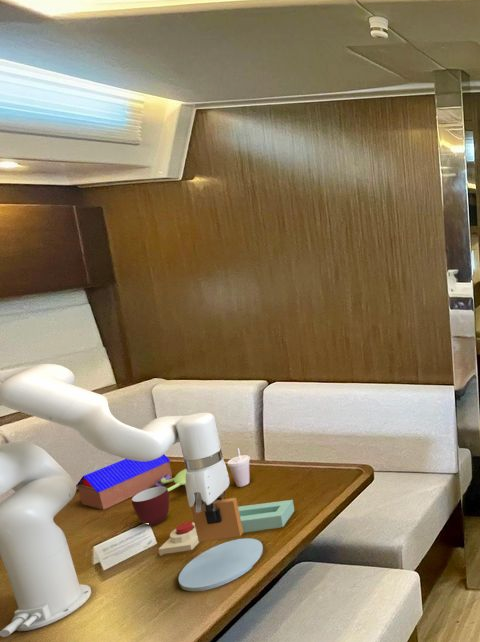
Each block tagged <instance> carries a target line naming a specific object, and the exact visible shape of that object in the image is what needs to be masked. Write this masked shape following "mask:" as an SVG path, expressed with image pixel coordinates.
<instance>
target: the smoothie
mask: <svg viewBox="0 0 480 642" xmlns="http://www.w3.org/2000/svg"><path fill="white" fill-rule="evenodd" d="M236 451H237V456H234V457H233V458H231V459H229V460H228V461H227V467H229V469H230V472H231V475H232V477H233V480H234V482H235V485H236V487H237V488H242V487H245V486H247V485H248V484H250V479H251V478H250V460H251V457H250V455H248V454H242V455H241V451H240V448H239V447H238V448H237V447H236Z"/></svg>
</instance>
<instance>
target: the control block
mask: <svg viewBox="0 0 480 642" xmlns="http://www.w3.org/2000/svg"><path fill="white" fill-rule="evenodd" d="M192 524H193V529H192V530H191V531H189V532H188V533H185V534H181V535H177V532H176V528H175V529H173V530H172V531H171V532H170V534H169V538H168V539H167V540H166V541H165V542H164V543H163V544H162V545H161V546H160V547H159V548H158V555H159V556H160V557H162V556H163V555H167V554H173V553H180V552H187V551H192V550H194V548H195V547H196V546H197V545H198V544H199V543H200V542H199V541H198V536H197V532H196V528H195V523H194V521H193V522H192Z"/></svg>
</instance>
